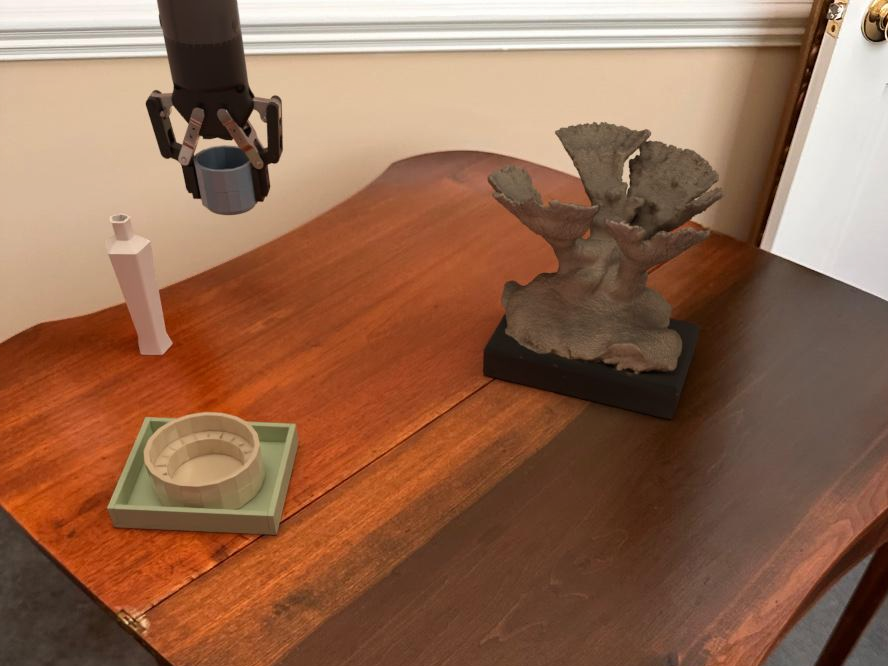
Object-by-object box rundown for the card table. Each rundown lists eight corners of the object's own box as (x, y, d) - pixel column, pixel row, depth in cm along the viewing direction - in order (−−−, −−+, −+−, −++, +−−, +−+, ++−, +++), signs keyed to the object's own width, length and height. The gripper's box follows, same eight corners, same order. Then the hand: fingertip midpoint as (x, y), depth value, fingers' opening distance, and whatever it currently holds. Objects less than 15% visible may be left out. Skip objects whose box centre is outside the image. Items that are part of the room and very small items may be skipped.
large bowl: (142, 518, 82) (130, 483, 78) (170, 445, 88) (160, 409, 85) (254, 524, 82) (247, 488, 78) (274, 450, 88) (268, 414, 85)
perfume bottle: (124, 349, 99) (85, 220, 87) (153, 331, 101) (119, 204, 90) (152, 363, 97) (116, 234, 86) (181, 345, 100) (150, 217, 88)
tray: (114, 527, 81) (106, 508, 79) (151, 436, 89) (145, 416, 87) (276, 535, 81) (273, 515, 79) (298, 442, 89) (295, 423, 87)
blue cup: (196, 215, 96) (187, 169, 92) (209, 189, 100) (200, 144, 96) (254, 218, 96) (247, 172, 92) (264, 192, 100) (258, 146, 96)
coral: (452, 368, 98) (458, 174, 82) (511, 280, 110) (527, 97, 94) (670, 424, 92) (723, 229, 76) (707, 326, 105) (760, 139, 88)
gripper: (281, 17, 87) (298, 185, 100) (138, 11, 87) (174, 179, 100) (268, 44, 82) (288, 216, 95) (117, 36, 82) (157, 210, 95)
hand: (229, 196), depth 98 cm, fingers closed on blue cup, 6 cm apart
